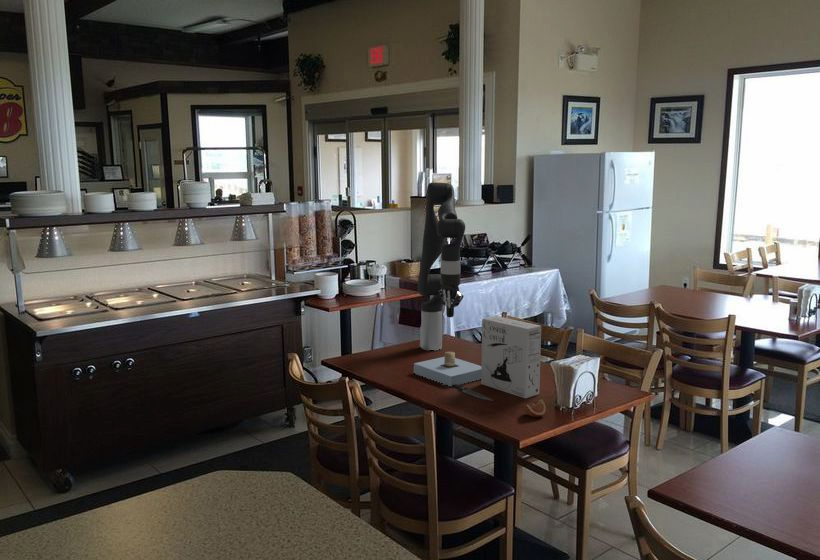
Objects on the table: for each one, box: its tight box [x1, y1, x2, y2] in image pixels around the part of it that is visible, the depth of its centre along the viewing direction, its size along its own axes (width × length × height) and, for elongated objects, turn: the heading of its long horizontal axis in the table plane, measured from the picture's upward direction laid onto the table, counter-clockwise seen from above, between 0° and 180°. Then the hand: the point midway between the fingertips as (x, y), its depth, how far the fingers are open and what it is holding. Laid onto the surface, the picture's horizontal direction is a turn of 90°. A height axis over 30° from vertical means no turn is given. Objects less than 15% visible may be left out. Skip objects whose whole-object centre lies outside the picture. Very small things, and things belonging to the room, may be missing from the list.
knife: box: [442, 384, 494, 402], centre depth 249 cm, size 26×1×5 cm
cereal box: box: [480, 315, 542, 399], centre depth 250 cm, size 22×8×25 cm, turn 40°
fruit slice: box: [521, 398, 547, 418], centre depth 224 cm, size 8×7×5 cm
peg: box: [443, 351, 456, 368], centre depth 268 cm, size 4×4×9 cm
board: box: [413, 356, 481, 387], centre depth 268 cm, size 22×18×4 cm
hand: (450, 316), depth 265 cm, fingers closed
